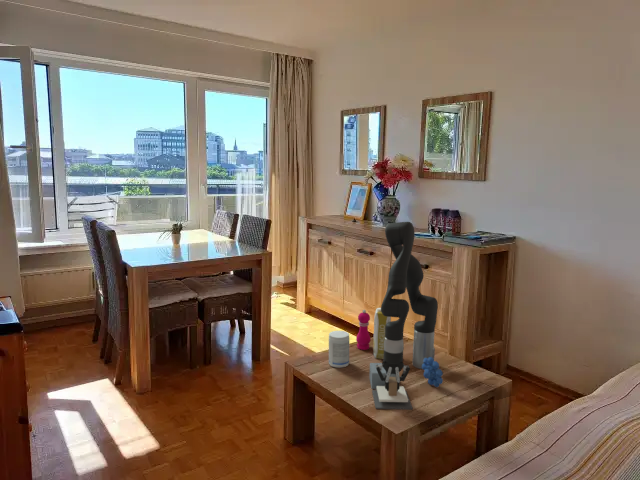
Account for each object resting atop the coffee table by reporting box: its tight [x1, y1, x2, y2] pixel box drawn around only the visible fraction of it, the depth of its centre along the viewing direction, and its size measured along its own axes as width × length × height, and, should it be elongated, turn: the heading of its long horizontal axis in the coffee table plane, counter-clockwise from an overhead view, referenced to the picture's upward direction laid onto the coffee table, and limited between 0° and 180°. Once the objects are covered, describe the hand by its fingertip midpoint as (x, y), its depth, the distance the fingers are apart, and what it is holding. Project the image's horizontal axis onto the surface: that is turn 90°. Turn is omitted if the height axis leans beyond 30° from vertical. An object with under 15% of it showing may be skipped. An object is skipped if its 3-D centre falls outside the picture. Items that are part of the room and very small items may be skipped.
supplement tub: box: [328, 330, 350, 369], centre depth 217 cm, size 10×10×15 cm
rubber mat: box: [371, 389, 413, 411], centre depth 186 cm, size 14×14×1 cm
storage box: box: [369, 362, 396, 390], centre depth 199 cm, size 10×10×7 cm
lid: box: [375, 377, 408, 402], centre depth 185 cm, size 11×11×6 cm
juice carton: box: [372, 307, 392, 360], centre depth 226 cm, size 9×8×24 cm
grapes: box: [421, 357, 444, 388], centre depth 197 cm, size 12×7×12 cm, turn 31°
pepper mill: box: [355, 309, 372, 351], centre depth 236 cm, size 7×7×20 cm
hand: (391, 389), depth 185 cm, fingers closed on lid, 3 cm apart
